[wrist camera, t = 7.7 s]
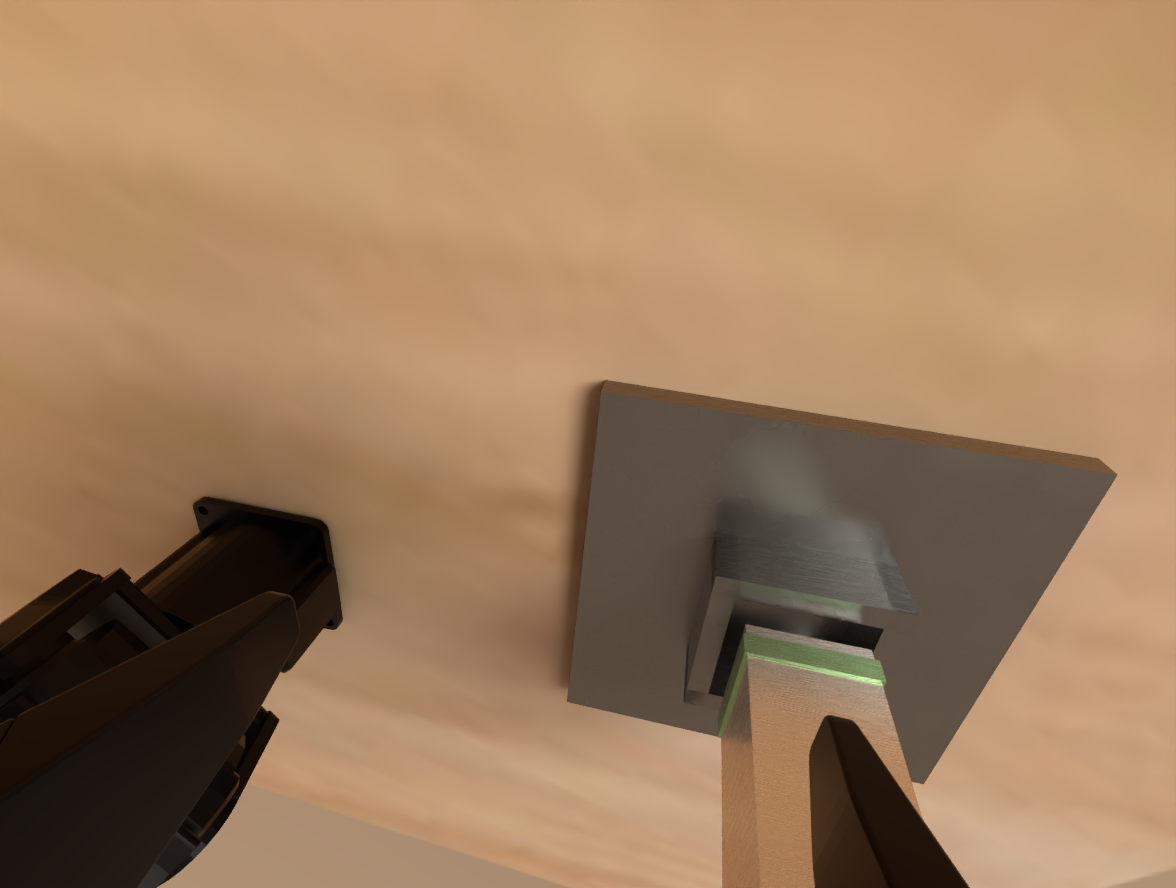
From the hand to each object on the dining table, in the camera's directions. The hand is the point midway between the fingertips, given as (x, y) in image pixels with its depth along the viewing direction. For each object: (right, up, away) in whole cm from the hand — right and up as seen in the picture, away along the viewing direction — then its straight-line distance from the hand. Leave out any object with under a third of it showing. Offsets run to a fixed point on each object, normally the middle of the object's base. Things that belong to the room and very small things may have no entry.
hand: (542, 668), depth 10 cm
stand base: (+9, -2, +14) cm, 16 cm away
